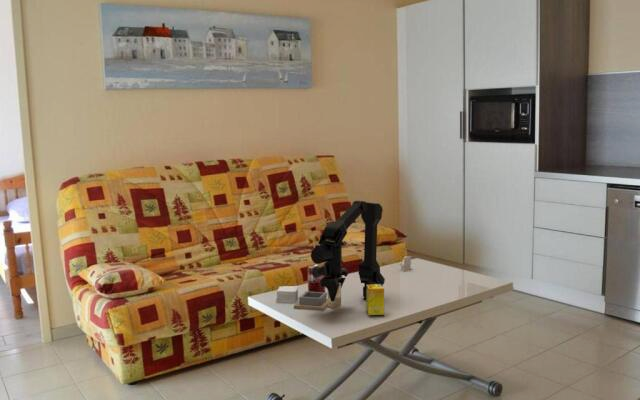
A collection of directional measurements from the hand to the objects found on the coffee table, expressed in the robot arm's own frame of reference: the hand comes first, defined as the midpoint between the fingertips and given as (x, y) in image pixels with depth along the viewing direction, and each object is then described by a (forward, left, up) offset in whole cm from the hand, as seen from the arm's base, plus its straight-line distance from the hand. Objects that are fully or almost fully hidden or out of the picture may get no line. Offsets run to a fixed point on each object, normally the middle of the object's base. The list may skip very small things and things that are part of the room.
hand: (334, 299), depth 225 cm
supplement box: (-15, -3, -6) cm, 16 cm away
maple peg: (0, 0, -3) cm, 3 cm away
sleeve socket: (+11, -8, -6) cm, 15 cm away
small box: (+23, -12, -6) cm, 27 cm away
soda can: (+14, -23, -6) cm, 28 cm away
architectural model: (-16, -73, -6) cm, 75 cm away
